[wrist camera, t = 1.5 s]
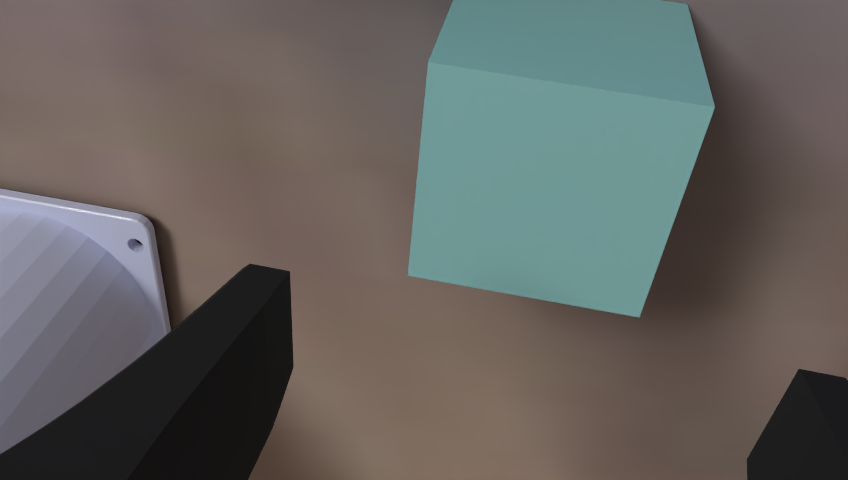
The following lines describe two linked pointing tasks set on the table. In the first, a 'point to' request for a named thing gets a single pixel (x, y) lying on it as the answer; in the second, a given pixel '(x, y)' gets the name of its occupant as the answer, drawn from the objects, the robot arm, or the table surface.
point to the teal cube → (557, 147)
